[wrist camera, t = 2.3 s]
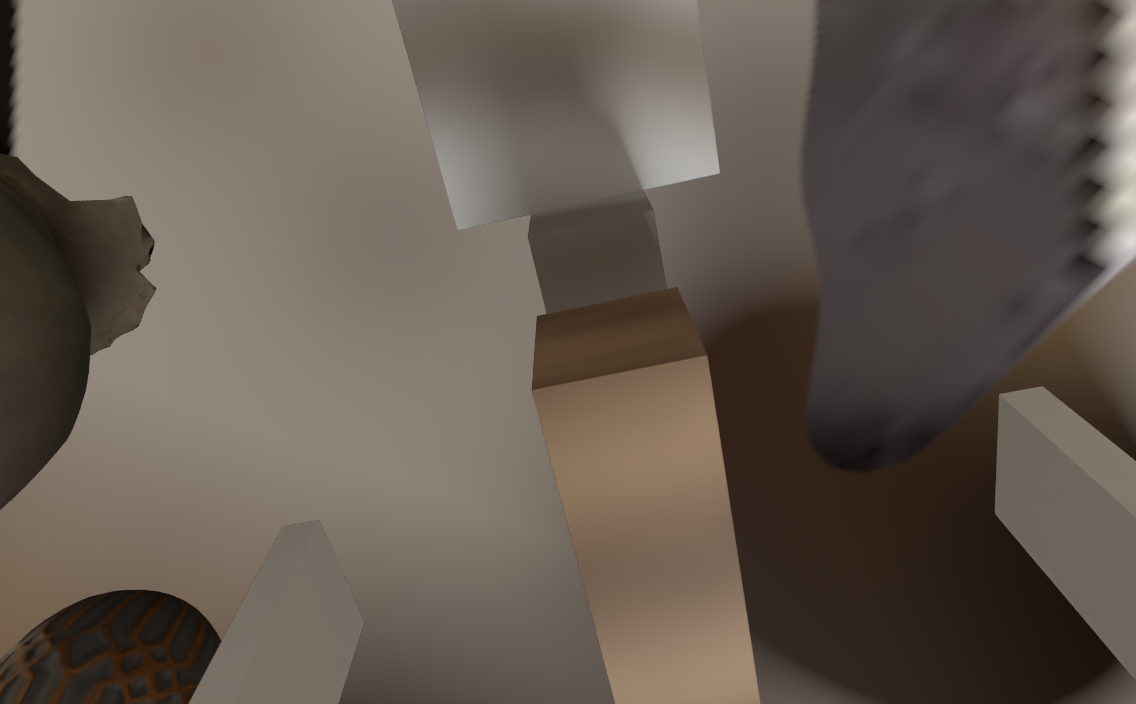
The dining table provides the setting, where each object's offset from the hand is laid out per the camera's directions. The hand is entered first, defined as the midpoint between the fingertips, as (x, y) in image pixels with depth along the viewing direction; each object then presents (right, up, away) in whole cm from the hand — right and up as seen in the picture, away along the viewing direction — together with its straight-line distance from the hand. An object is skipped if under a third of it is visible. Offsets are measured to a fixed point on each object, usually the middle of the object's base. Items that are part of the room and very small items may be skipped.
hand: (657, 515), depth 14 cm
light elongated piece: (-1, +5, +7) cm, 8 cm away
